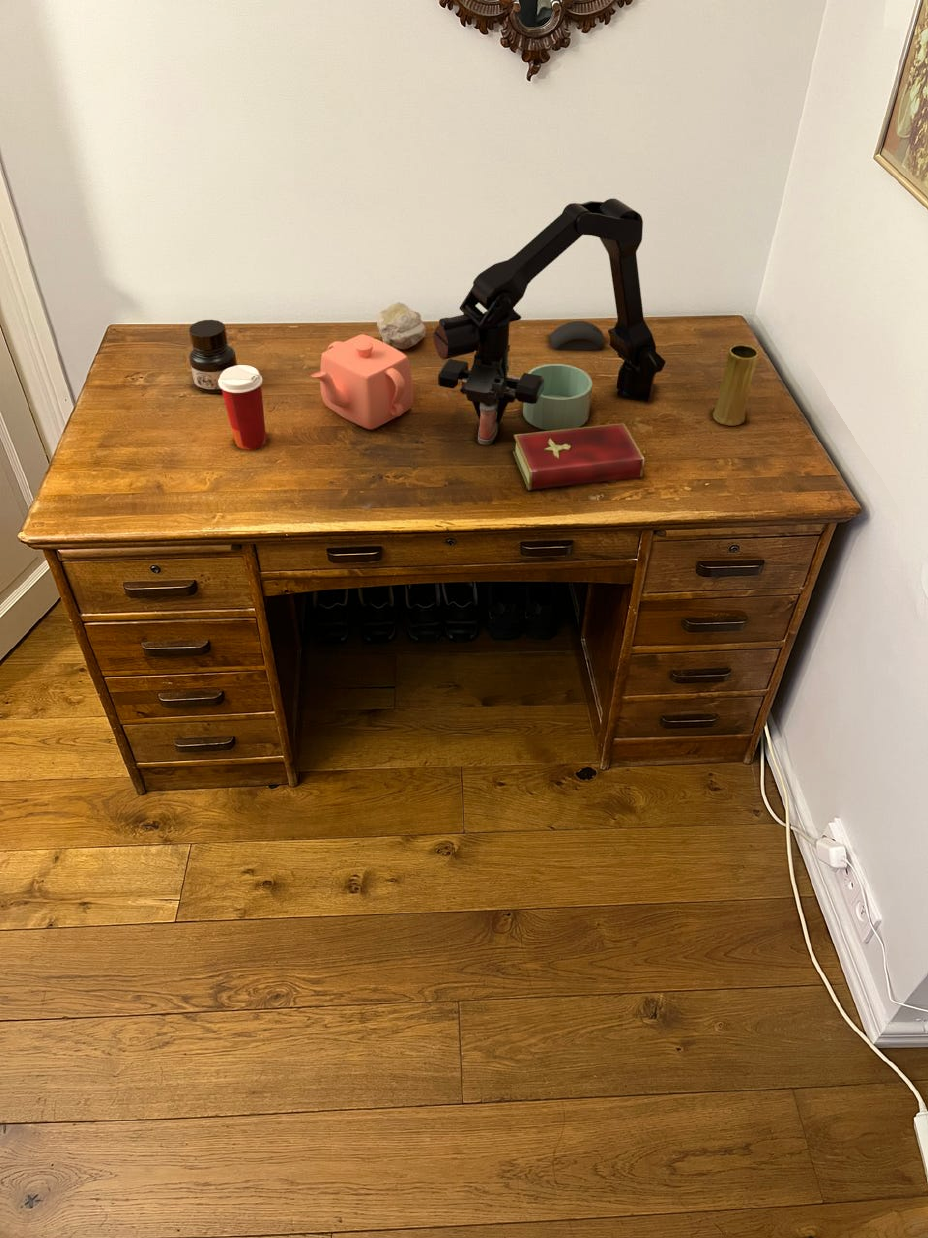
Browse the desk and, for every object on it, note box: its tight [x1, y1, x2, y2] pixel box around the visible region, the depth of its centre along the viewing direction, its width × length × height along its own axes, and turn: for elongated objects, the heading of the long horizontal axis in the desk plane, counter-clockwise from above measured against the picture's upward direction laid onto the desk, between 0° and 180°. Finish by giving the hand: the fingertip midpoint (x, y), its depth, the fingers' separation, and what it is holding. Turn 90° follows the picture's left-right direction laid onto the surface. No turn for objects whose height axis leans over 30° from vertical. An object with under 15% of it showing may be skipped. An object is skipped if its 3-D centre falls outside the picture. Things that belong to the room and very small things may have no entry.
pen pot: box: [522, 363, 593, 431], centre depth 189 cm, size 13×13×7 cm
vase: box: [712, 344, 759, 427], centre depth 185 cm, size 6×6×14 cm
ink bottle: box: [188, 319, 238, 394], centre depth 193 cm, size 10×9×12 cm
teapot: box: [310, 333, 415, 430], centre depth 185 cm, size 20×19×14 cm
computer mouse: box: [550, 320, 605, 351], centre depth 209 cm, size 6×11×4 cm, turn 89°
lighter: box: [477, 398, 499, 446], centre depth 182 cm, size 8×3×10 cm, turn 168°
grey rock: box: [376, 301, 427, 350], centre depth 207 cm, size 12×8×10 cm
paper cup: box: [218, 364, 267, 451], centre depth 178 cm, size 8×8×14 cm
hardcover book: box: [512, 422, 646, 491], centre depth 177 cm, size 12×21×4 cm, turn 102°
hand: (489, 420), depth 184 cm, fingers closed on lighter, 3 cm apart
